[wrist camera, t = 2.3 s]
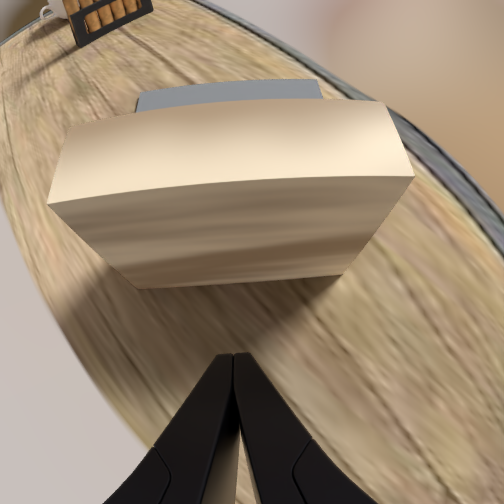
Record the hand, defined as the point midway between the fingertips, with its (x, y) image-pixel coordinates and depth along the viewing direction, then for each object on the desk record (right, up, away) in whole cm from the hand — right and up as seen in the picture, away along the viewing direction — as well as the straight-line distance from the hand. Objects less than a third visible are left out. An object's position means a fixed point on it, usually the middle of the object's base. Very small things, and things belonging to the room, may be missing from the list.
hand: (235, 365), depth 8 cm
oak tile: (0, +3, +11) cm, 11 cm away
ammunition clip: (-17, +31, +23) cm, 42 cm away
